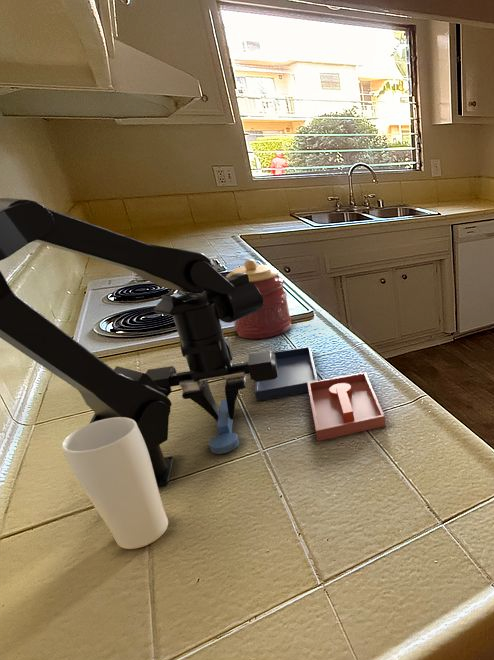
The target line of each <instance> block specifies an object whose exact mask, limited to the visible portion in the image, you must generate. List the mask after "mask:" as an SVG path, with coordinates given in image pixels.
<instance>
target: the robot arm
mask: <svg viewBox="0 0 494 660" xmlns="http://www.w3.org/2000/svg"><path fill="white" fill-rule="evenodd" d="M33 242H34V243H36V244H37V243H38V244H41V245H45V246H48V247H52V248H55V249H59V250H61V251H65V252H69V253H72V254H76V255H79V256H82V257H86V258H90V259H93V260H96V261H99V262H103V263H107V264H109V265H113V266H117V267H120V268H124V269H126V270H128V271H130V272H132V273H134V274H136V275H137V276H139V277H140V278H141V279H144V280H146V281H148V282H150V283H152V284H154V285H156V286H159V287H160V288H163V289H169V290H173V291H174V290H175V291H180V292H186V293H185V294H182V295H180V296H174V295H168V294H163V295H162V297H161V299H160V301H159V302H158V303H157V304H156V305H155V307H154V308H153V311H154V312H155V313H156V314H161V315H166V316H171V317H172V318H173V321H174V324H175V327H176V331H177V334H178V337H179V347H180V352H181V355H182V357H184V358H185V359H186V362H187V366H188V369H189V370H187V371H181V372H177V369H176V368H175V366H174V365H169V366H163V367H157V368H151V369H147V371H146V372H141V371H138V370H133V369H129V368H126V367H122V366H118V365H117V366H115V367H114V368H112V367H111V366H109V364H107V363H105V362H104V361H103V360H102V359H100V358H99V357H98V356H96V355H95V354H94V353H93V352H91V351H90V349H89V350H88V348H86V347H85V346H84V345H82V344H81V343H80V342H78V341H77V340H76V339H74V338H73V337H72V336H71V335H69V334H68V333H67V332H65V331H64V330H63V329H61V328H60V327H58V326H57V325H56V324H55V323H54V322H52V321H51V320H50V319H49V318H47V317H46V316H44V315H43V314H42V313H41V312H39V311H38V310H37V309H35V308H34V307H33V306H31V305H30V304H29V303H27V302H26V301H25V300H24V299H22V298H21V297H20V296H19V295H18V294H16V293H15V292H14V291H13V290H12V288H11V286H10V285H9V282H8V281H7V280H6V278H5V275H4V274H3V272H2V271H1V270H0V339H2V341H4V342H6V343H8V344H9V345H10V346H12V347H13V348H15V349H16V350H18V351H20V352H21V353H22V354H24V355H25V356H27V357H28V358H30V359H31V360H32V361H34V362H36V364H39V365H40V366H42V367H43V368H44V369H46V370H47V371H49V372H51V373H52V374H53V375H55V376H56V377H58V378H60V379H61V380H62V381H63V382H65V383H67V384H68V385H70V386H71V387H73V388H74V389H75V390H77V392H79V393H80V395H81V397H82V399H83V401H84V402H85V404H86V406H88V407H89V409H91V410H92V412H93V413H94V414H93V415H92V418H91V420H90V421H89V423H88V424H90V423H92V422H96V421H99V420H103V419H107V418H115V417H126V418H130V419H133V420H134V421H135V422H136V423H137V426H138V428H139V430H140V432H141V434H142V436H143V438H144V441H145V443H146V446H147V449H148V452H149V455H150V459H151V463H152V467H153V470H154V474H155V478H156V482H157V486H158V488H162V487H165V486H167V485H169V482H170V478H171V474H172V470H173V467H174V462H175V457H174V456H171V455H170V456H166V457H165V456H164V453H163V451H162V448H161V446H160V445H162V444H164V443H165V442H166V441H168V440H169V424H170V423H169V421H170V420H169V419H170V414H171V407H172V401H171V399H170V398H169V395H171V393H172V391H173V390H172V387H177V386H179V387H180V388H181V391H182V394H181V397H182V399H183V400H189V399H190V400H191V401H192V402H193V403H195V404H197V405H198V406H199V407H201V408H202V409H203V410H205V411H206V412H207V414H209V415H210V417H212V418H213V419H214V420H215V421H216V422H218V416H219V407H218V404H217V403H216V400H215V398H214V395H213V393H212V391H211V389H210V383H209V381H214V380H219V379H220V380H221V379H224V381H225V386H224V394H225V400H227V407H228V413H229V416H230V418H231V419H233V420H235V419H234V418H235V409H236V408H235V407H236V401H237V398H238V394H239V392H240V391H241V390H244V389H246V387H247V376H248V375H249V377H250V379H251V380H252V381H254V382H255V381H256V382H260V381H266V380H272V379H275V378H277V377H278V370H277V361H276V357H275V354H274V353H273V352H274V351H272V350H267V351H261V352H254V353H249V354H248V359H247V360H248V361H244V362H243V361H239V362H232V361H233V359H234V357H233V354H232V349H231V343H230V340H229V337H228V336H226V337H225V336H224V331H223V328H222V324H221V322H224V323H227V324H230V323H232V322H233V323H234V321H235V320H238V319H240V318H242V317H245V316H247V315H250V314H252V313H255V312H257V311H259V310H260V309H261V308H262V306H263V297H262V294H261V293H260V292H259V290H258V288H257V287H256V286H255V285H254V284H253V283H252V282H251V281H249V277H248V275H247V274H243V273H236V274H233V275H231V276H230V277H227V278H226V277H225V276H223V275H222V274H221V273H220V272H219V271H218V270H217V269H215V268H214V265H213V264H212V259H211V258H210V257H209V256H207V255H206V254H204V253H203V252H198V251H192V250H187V249H181V248H176V247H175V248H174V247H168V246H163V245H156V244H151V243H147V242H144V241H141V240H139V239H136V238H133V237H130V236H127V235H124V234H121V233H119V232H117V231H113V230H110V229H108V228H104V227H102V226H99V225H96V224H93V223H90V222H88V221H85V220H82V219H79V218H77V217H73V216H70V215H68V214H65V213H62V212H59V211H56V210H54V209H52V208H48V207H46V206H44V205H43V204H42V203H40V202H37V201H35V200H31V199H24V198H14V197H12V198H11V197H1V198H0V262H1V261H3V260H6V259H8V258H10V257H11V256H12V255H15V253H17V252H18V251H19V250H21V249H22V248H24V247H26V246H27V245H28V244H30V243H33Z"/></svg>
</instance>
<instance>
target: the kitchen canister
mask: <svg viewBox="0 0 494 660" xmlns="http://www.w3.org/2000/svg"><path fill="white" fill-rule="evenodd" d="M236 273H243V274H247V275H248V277H249V281H251V282H252V283H253V284H254V285H255V286H256V287H257V288H258V290H259V292H260V293H261V294H262V297H263V306H262V308H261V309H260V310H259V311H257V312H255V313H252V314H250V315H247V316H245V317H242V318H240V319H238V320H235V321H233V327H234V330H235V331H236V334H237V335H238V337H241V338H243V339H249V340H250V339H251V340H259V339H260V340H261V339H267V338H272V337H277V336H279V335H282V334H285V333H286V332H287V331H289V330H290V329H291V327H292V316H291V315H290V310H289V304H288V299H287V292H286V290H284V286H283V285H284V283H285V280H284V279H283V278H282V277H280V276H278V275H279V270H277V269H276V268H273V267H271V266H270V265H267V264H257V262H256V260H254V259H251V258H249V259H246V260H245V261H244V264H243V266H238V267H235V268H233V269H231V271H230V272H229V273H228V274H226V276H225V278H227V277H230V276H231V275H233V274H236Z"/></svg>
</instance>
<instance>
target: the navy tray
mask: <svg viewBox="0 0 494 660" xmlns="http://www.w3.org/2000/svg"><path fill="white" fill-rule="evenodd" d="M272 352H273V353H274V354H275V357H276V361H277V370H278V377H277V378H275V379H272V380H266V381H260V382H256V381H254V394H255V398H256V401H257V402H261V401H266V400H271V399H277V398H283V397H288V396H293V395H299V394H304V393H309V391H308V385H307V383H308V382H314V381H319V379H318V374H317V370H316V369H317V368H316V365H315V361H314V356H313V352H312V346H302V347H297V348H290V349H284V350H278V351H277V350H276V351H272Z"/></svg>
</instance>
